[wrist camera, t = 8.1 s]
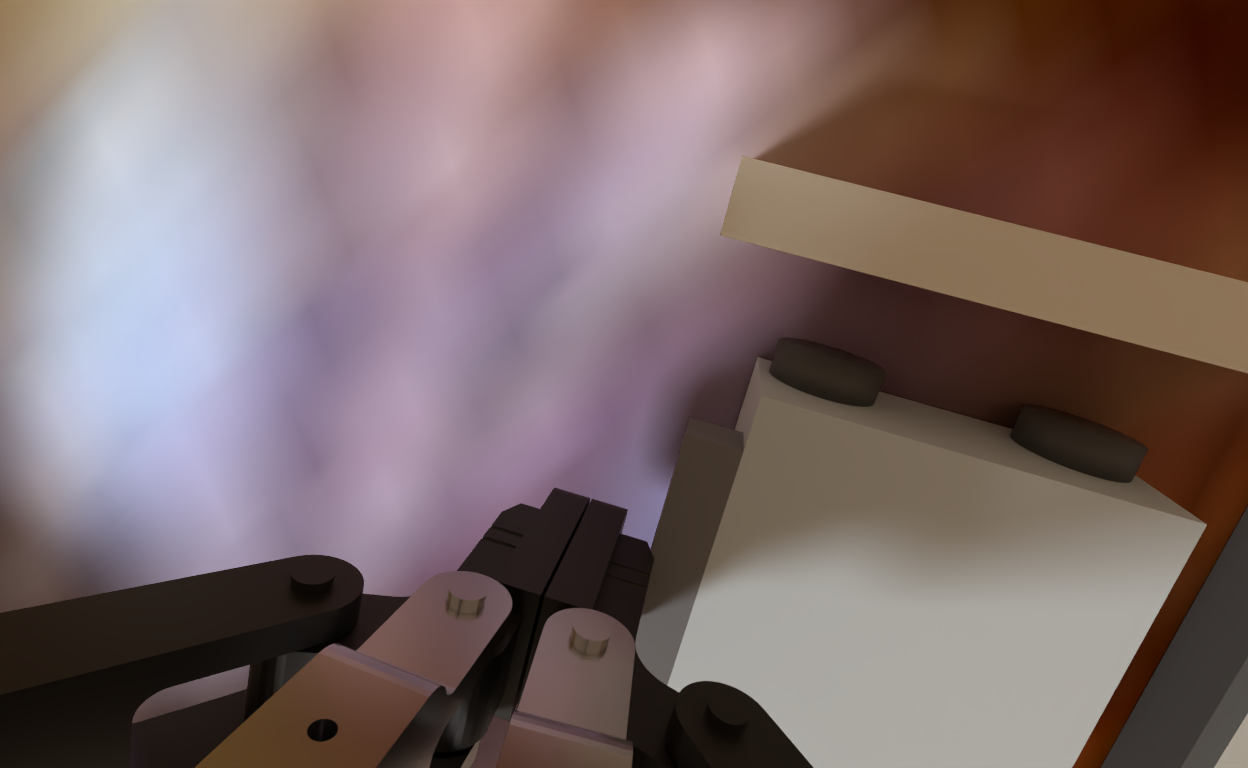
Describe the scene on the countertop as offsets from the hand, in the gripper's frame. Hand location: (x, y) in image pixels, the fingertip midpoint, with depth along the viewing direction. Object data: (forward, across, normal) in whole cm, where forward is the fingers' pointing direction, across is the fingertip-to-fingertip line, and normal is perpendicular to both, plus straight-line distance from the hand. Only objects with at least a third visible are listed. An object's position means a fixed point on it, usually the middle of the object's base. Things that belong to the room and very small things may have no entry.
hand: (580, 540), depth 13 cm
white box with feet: (+2, -6, 0) cm, 6 cm away
